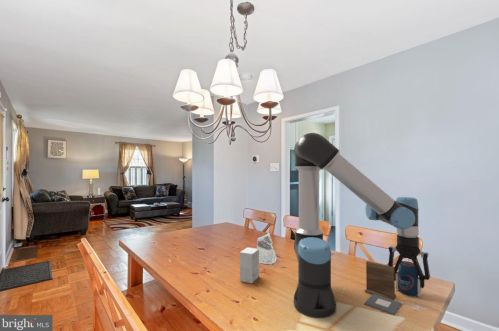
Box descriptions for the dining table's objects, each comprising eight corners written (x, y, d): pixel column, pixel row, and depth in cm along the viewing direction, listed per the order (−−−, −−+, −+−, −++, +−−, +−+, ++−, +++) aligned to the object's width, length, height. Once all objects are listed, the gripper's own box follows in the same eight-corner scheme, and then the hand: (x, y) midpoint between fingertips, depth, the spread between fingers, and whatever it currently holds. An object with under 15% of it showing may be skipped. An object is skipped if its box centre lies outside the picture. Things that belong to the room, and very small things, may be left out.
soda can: (396, 293, 100) (395, 263, 100) (401, 287, 105) (400, 259, 105) (416, 299, 95) (416, 268, 95) (420, 293, 100) (420, 263, 100)
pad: (394, 315, 84) (394, 313, 84) (364, 304, 91) (364, 302, 91) (401, 304, 91) (401, 302, 91) (372, 295, 98) (372, 293, 98)
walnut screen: (392, 301, 93) (392, 269, 94) (365, 292, 100) (364, 262, 101) (395, 296, 97) (395, 265, 97) (369, 288, 104) (368, 259, 104)
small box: (246, 274, 118) (247, 247, 118) (259, 276, 115) (259, 248, 116) (239, 281, 110) (239, 251, 111) (252, 283, 108) (252, 253, 108)
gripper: (439, 237, 96) (440, 297, 96) (383, 229, 110) (384, 281, 109) (436, 241, 91) (437, 304, 90) (378, 232, 104) (379, 287, 104)
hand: (408, 291), depth 100 cm, fingers closed on soda can, 7 cm apart
